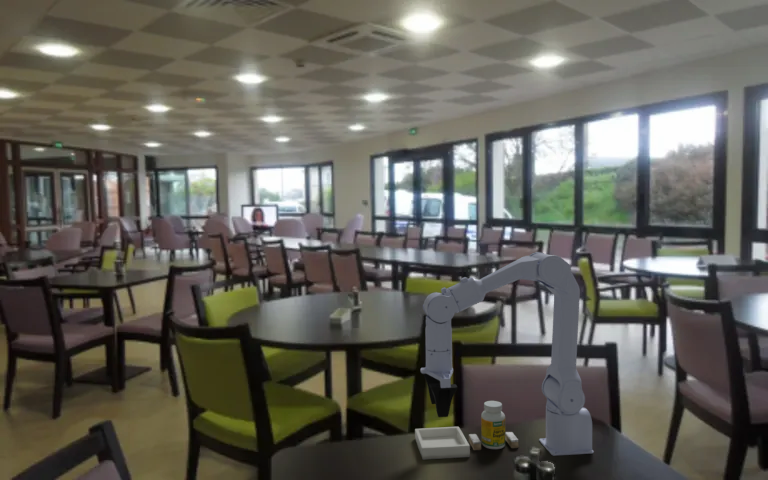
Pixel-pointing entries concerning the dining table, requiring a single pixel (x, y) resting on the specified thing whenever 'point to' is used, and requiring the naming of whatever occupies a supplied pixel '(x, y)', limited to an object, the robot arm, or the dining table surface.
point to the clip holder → (509, 438)
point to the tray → (441, 443)
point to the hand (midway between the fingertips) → (439, 409)
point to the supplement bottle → (493, 425)
